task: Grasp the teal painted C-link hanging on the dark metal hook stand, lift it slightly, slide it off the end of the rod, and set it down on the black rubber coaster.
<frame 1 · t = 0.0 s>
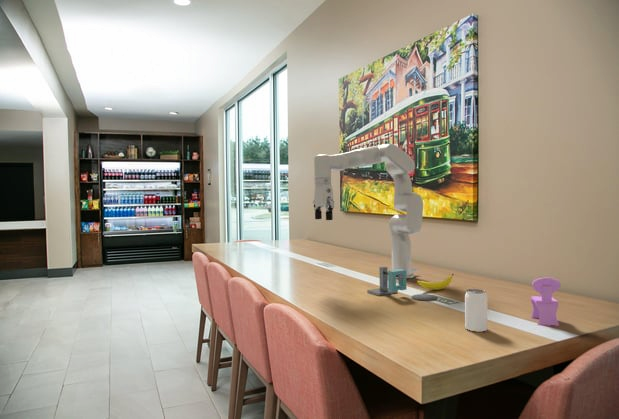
hand: (323, 219, 202), 31 cm above the table, tool pointing down, fingers open, 9 cm apart
coaster: (424, 298, 179), on the table
toy chair: (544, 322, 144), on the table
can: (476, 329, 138), on the table
banana: (435, 290, 193), on the table
link: (397, 289, 181), point 3 cm above the table, touching stand
stand: (383, 293, 189), on the table
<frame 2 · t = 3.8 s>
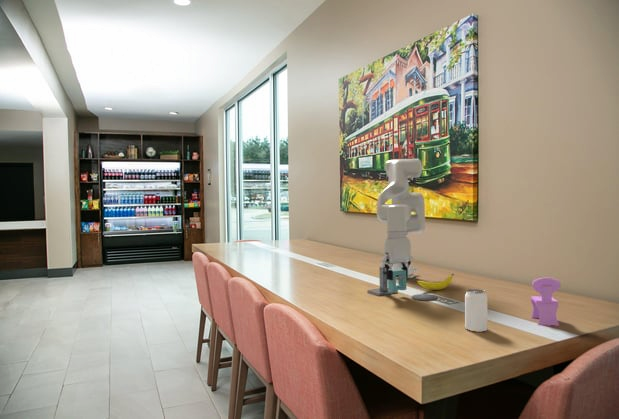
hand: (397, 278, 181), 8 cm above the table, tool pointing down, fingers closed on link, 7 cm apart
link: (397, 289, 181), point 3 cm above the table, touching gripper, stand
everything else where it was.
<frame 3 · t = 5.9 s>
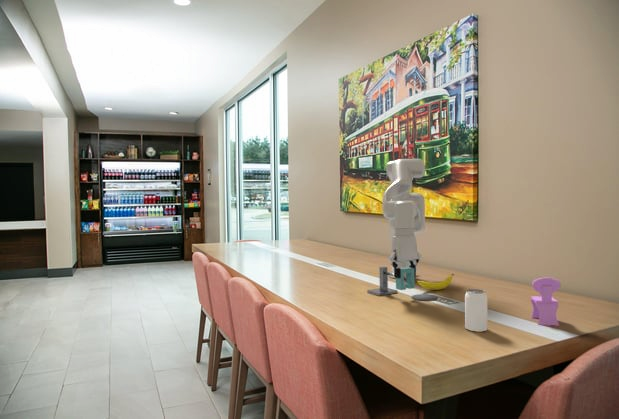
hand: (405, 276, 177), 9 cm above the table, tool pointing down, fingers closed on link, 7 cm apart
link: (405, 288, 177), point 5 cm above the table, touching gripper
everything else where it was.
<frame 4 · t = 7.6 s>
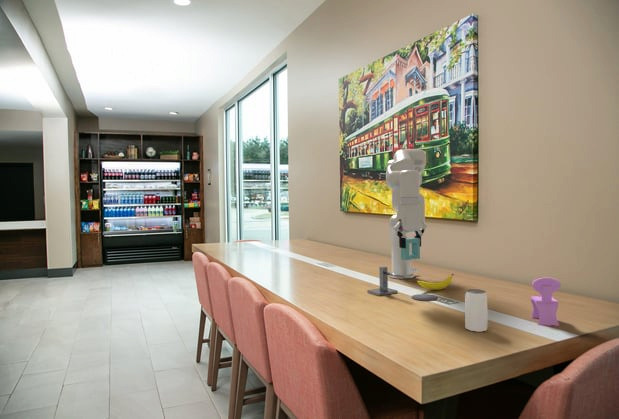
hand: (410, 246, 174), 22 cm above the table, tool pointing down, fingers closed on link, 7 cm apart
link: (410, 258, 174), point 17 cm above the table, touching gripper
everything else where it was.
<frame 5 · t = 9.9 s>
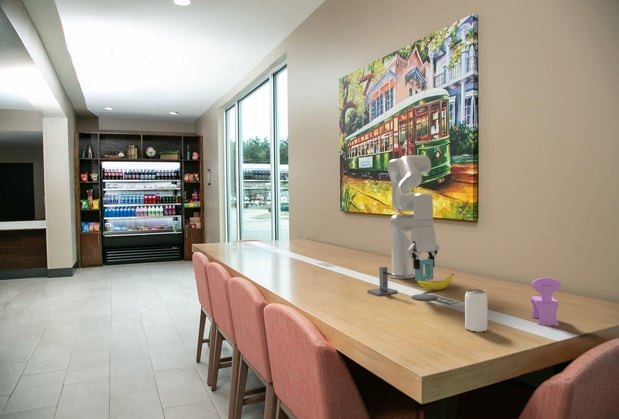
hand: (424, 267, 179), 12 cm above the table, tool pointing down, fingers closed on link, 7 cm apart
link: (424, 279, 179), point 8 cm above the table, touching gripper
everything else where it was.
when the fingers open (6 cm above the table, at t = 11.7 s): link stays where it is, resting on coaster.
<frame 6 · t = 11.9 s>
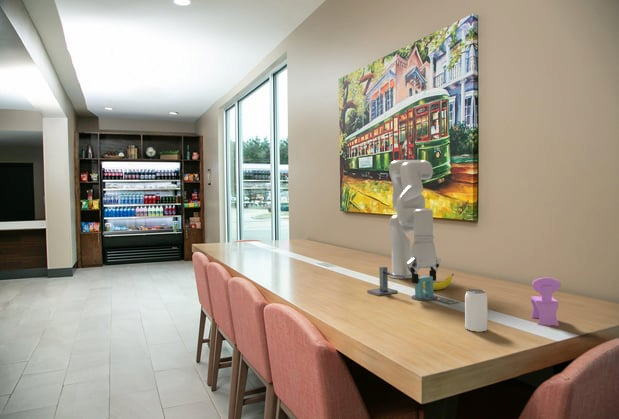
hand: (424, 281, 179), 7 cm above the table, tool pointing down, fingers open, 9 cm apart
link: (424, 296, 179), resting on coaster
everything else where it was.
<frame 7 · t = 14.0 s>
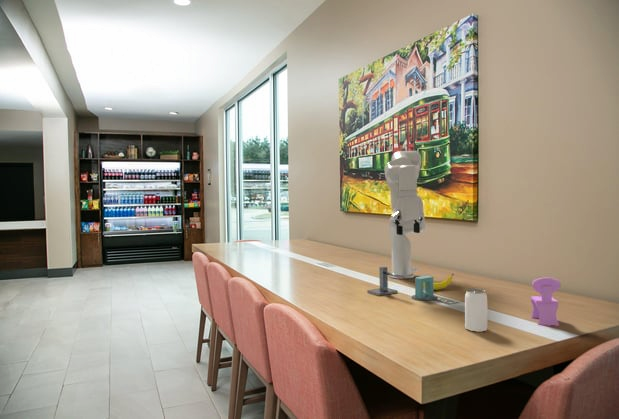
hand: (408, 233, 192), 25 cm above the table, tool pointing down, fingers open, 9 cm apart
nothing on the table moved.
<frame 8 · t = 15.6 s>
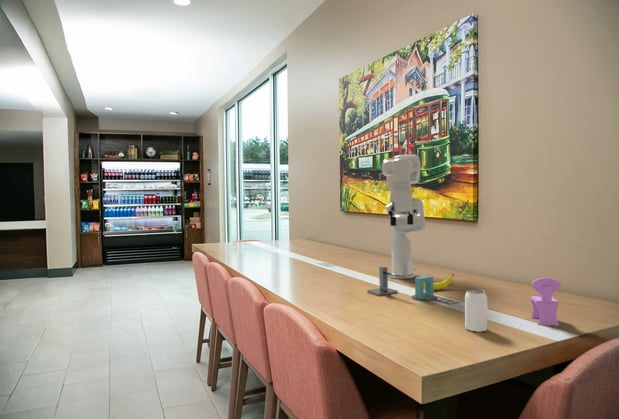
hand: (401, 225, 197), 28 cm above the table, tool pointing down, fingers open, 9 cm apart
nothing on the table moved.
at the end: link 0.1 cm from the coaster (horizontally); link resting on coaster; link touching coaster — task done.
